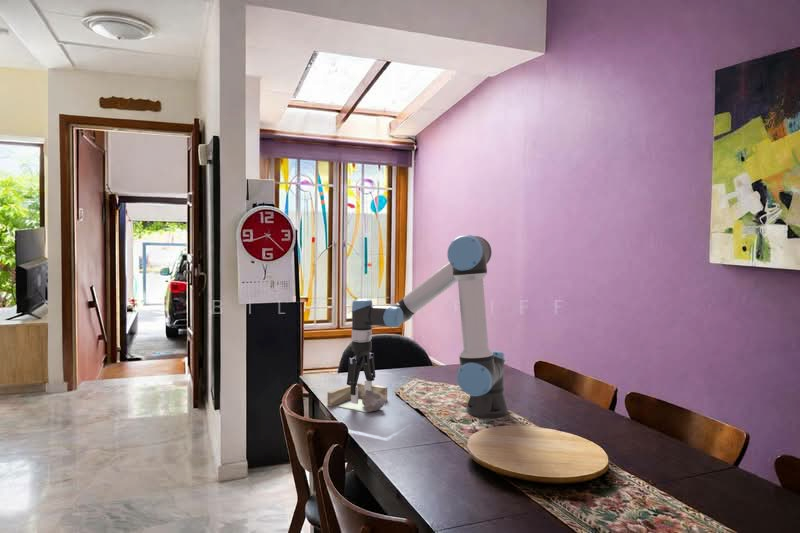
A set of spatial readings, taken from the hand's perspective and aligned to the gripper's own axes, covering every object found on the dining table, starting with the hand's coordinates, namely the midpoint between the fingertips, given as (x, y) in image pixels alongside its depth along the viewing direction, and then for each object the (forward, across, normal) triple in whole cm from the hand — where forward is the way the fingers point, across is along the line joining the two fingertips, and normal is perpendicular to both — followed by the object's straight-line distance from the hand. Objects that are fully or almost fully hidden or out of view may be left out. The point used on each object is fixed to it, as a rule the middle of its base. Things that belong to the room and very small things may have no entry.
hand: (361, 400), depth 199 cm
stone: (+2, 0, -2) cm, 2 cm away
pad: (+2, 0, 0) cm, 2 cm away
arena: (+2, +2, 0) cm, 3 cm away
